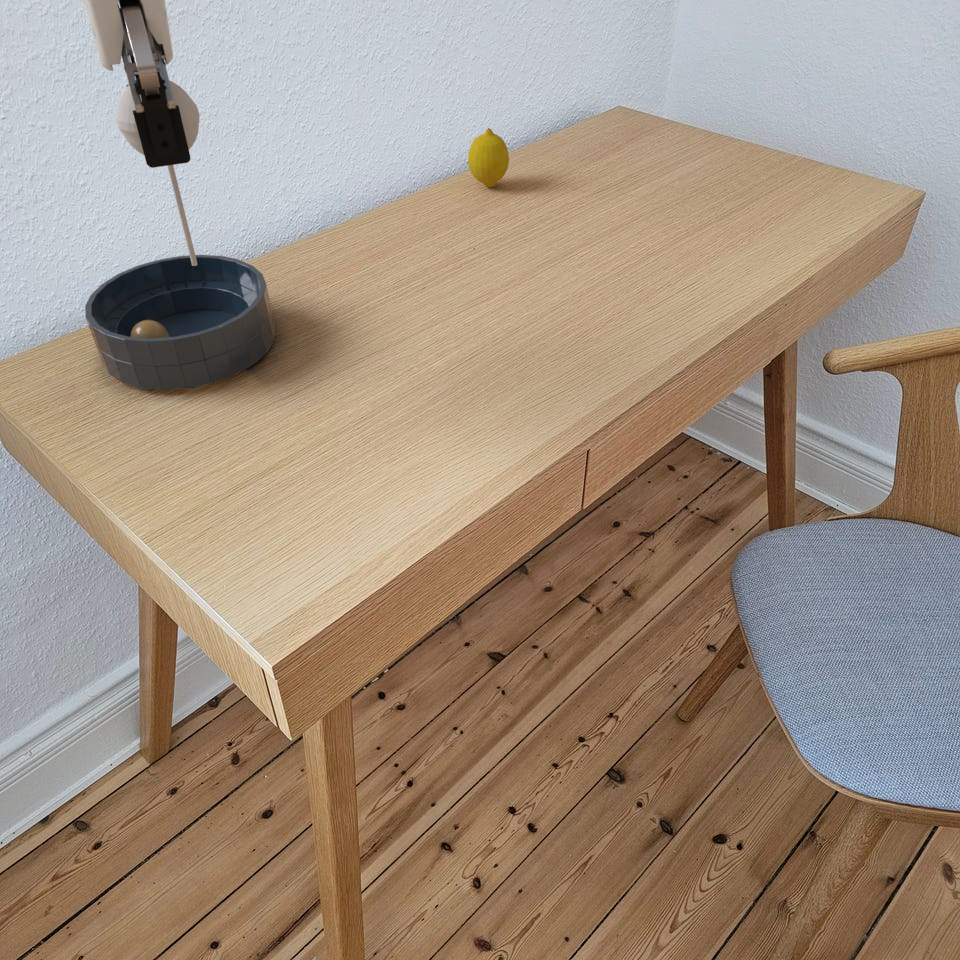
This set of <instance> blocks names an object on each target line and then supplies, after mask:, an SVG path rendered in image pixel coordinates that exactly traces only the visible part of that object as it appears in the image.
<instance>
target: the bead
mask: <svg viewBox="0 0 960 960" xmlns="http://www.w3.org/2000/svg"><path fill="white" fill-rule="evenodd" d="M131 337H139V338H163V337H169V334H168V332H167V330H166V328H165V327H164V326H163V325H162V324H161V323H159V322H157V321H154V320H143V321H141V322H139V323H137V324H136V325H135V326H134V327H133V329H132V331H131Z"/></svg>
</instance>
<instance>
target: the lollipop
mask: <svg viewBox="0 0 960 960" xmlns="http://www.w3.org/2000/svg"><path fill="white" fill-rule="evenodd" d="M169 82H170V86H171V90H172V94H173V98H174V102H175V105H178V106H179V110H180V114H181V119H182V123H183V127H184V131H185V136H186V140H187V144H188V149H189V150H190V149H191V148H192V147H193V146H194V144H195V143H196V141H197V139H198V135H199V129H200V115H201V114H200V111H199V108H198V105H197V104H196V103H195V101H194V100H193V99H192V97H191V95H189V94H188V93H187V92H186V90H184V89H183V88H182V87H181V85H178V84H177V83H175V82H173V80H170V79H169ZM128 85H129V84H128ZM140 98H141V96H140ZM141 102H142V99H141ZM143 109H144V107H143ZM133 110H136V108H135V105H134V101H133V97H132V93H131V89H130V85H129V86H128V87H127V86H126V88H125V89H124V90H123V91H122V93H121V95H120V97H119V100H118V103H117V107H116V113H115V120H116V125H117V128H118V129H119V131H120V132H121V134H122V135H123V138H124V140H125V141H126V142H127V143H128V144H129V145H130V146H131V147H132V148H133V149H134V150H135V151H137V152H138V153H140V154H141V155H142V156H144V152H143V148H142V145H141V141H140V137H139V133H138V130H137V126H136V122H135V118H134V115H133ZM166 167H167V171H168V175H169V178H170V183H171V186H172V191H173V195H174V198H175V202H176V206H177V210H178V214H179V220H180V222H181V226H182V230H183V235H184V239H185V242H186V247H187V250H188V251H187V252H188V255H190V259H191V263H192V266H196V265H198V264H197V260H196V256H195V255H196V252H195V248H194V244H193V240H192V236H191V231H190V228H189V222H188V219H187V215H186V212H185V211H186V210H185V208H184V207H185V206H184V203H183V200H182V195H181V191H180V186H179V184H178V180H177V175H176V171H175V167H174V165H168V166H166Z"/></svg>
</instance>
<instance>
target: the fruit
mask: <svg viewBox="0 0 960 960" xmlns="http://www.w3.org/2000/svg"><path fill="white" fill-rule="evenodd" d="M467 155H468V156H467V163H468V168H469V172H470V173H471V175H472V176H473V178H474V179H475V180H476V181H478V182H479V183H481V184H483V186H485V187H486V188H493V187H495V186H496V184H497V183H498V182H499V181H501V180H502V179H503V177H504V176H505V175H506V173H507V171H508V169H509V165H510V156H509V150H508V147H507V144H506V142H505V140H504V139H503V138H502V137H501V136H500V135H498V134H495V133H494V131H493V130H492V129H491V128H490V127H488V128H487V129H486V130H485V131H484V133H482V134H479V135H478V136H476V137H475V138H474V139H473V140H472V142H471V144H470V147H469V150H468V154H467Z"/></svg>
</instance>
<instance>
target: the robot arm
mask: <svg viewBox="0 0 960 960" xmlns="http://www.w3.org/2000/svg"><path fill="white" fill-rule="evenodd" d="M83 3H84V6H85V9H86V13H87V17H88V20H89V23H90V28H91V30H92V35H93V38H94V41H95V44H96V48H97V51H98V56H99V59H100V63H101V66H102V67H103V68H104V69H106V70H107V71H109V72H111V71H112V72H113V71H114V67H113V66H114V65H121V62H122V63H123V69H124V72H125V74H126V78H127V82H128V84H126V88H127V87H128V86H129V85H130V89H131V93H132V97H133V101H134V105H135V108H136V110H133V115H134V118H135V122H136V126H137V130H138V133H139V137H140V141H141V145H142V148H143V152H144V155H143V156H144V159H145V163H146V165H147V166H148V167H149V168H152V169H153V168H161V167H167V166H168V165H173V166H174V165H182V164H188V163H190V161H191V153H190V149H188V144H187V140H186V136H185V131H184V127H183V123H182V119H181V114H180V110H179V106H178V105H175V102H174V98H173V94H172V90H171V86H170V82H169V80H170V78H169V74H168V70H167V65H169V64H170V63H172V60H173V59H174V52H173V45H172V38H171V30H170V24H169V17H168V11H167V6H166V0H83ZM140 96H141V98H140ZM141 99H142V102H141ZM143 107H144V109H143Z"/></svg>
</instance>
